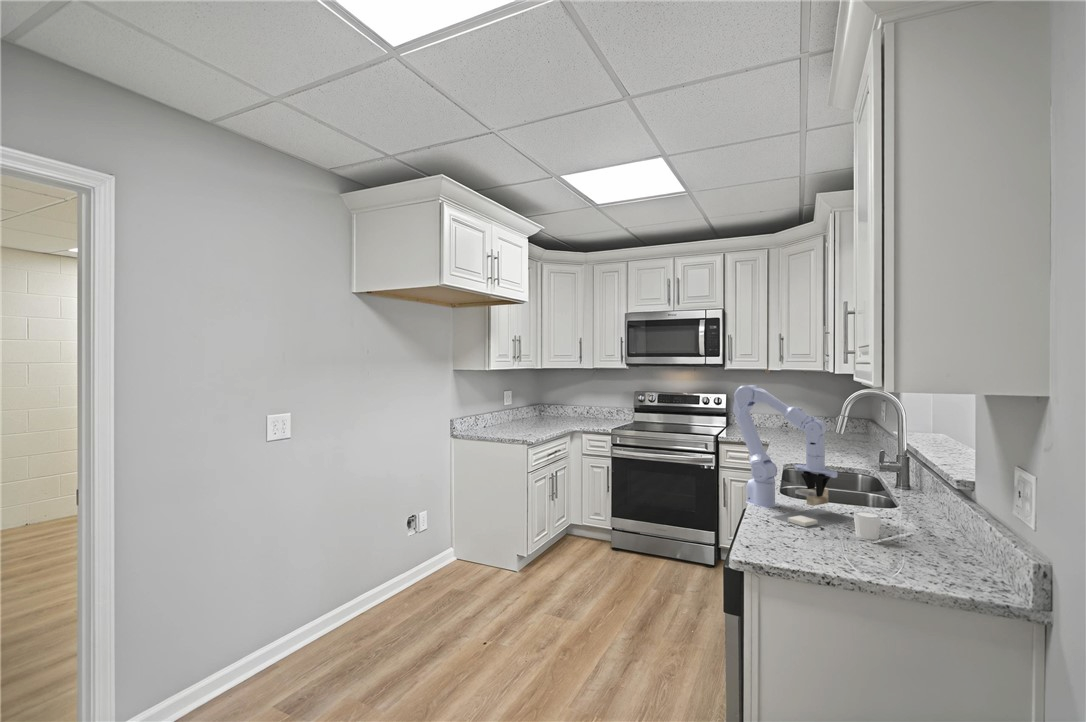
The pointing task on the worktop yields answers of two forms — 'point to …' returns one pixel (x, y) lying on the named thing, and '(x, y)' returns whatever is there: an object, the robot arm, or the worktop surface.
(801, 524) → the tile
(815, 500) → the turner
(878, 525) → the white cup
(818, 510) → the mat
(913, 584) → the worktop surface
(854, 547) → the worktop surface
